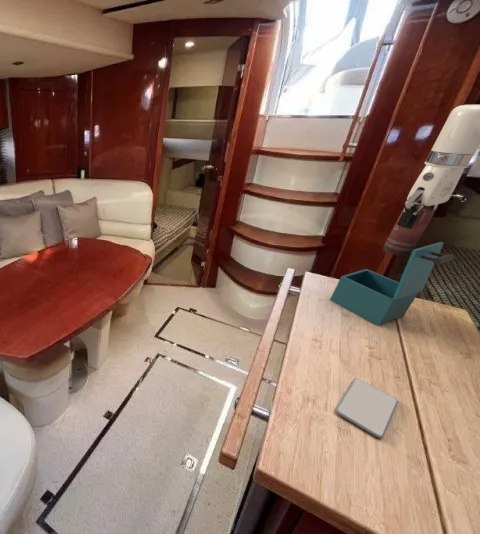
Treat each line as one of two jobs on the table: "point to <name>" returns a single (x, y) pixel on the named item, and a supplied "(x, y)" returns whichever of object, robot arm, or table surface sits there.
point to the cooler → (371, 296)
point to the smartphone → (367, 407)
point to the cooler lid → (420, 269)
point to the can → (407, 234)
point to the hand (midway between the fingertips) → (411, 224)
